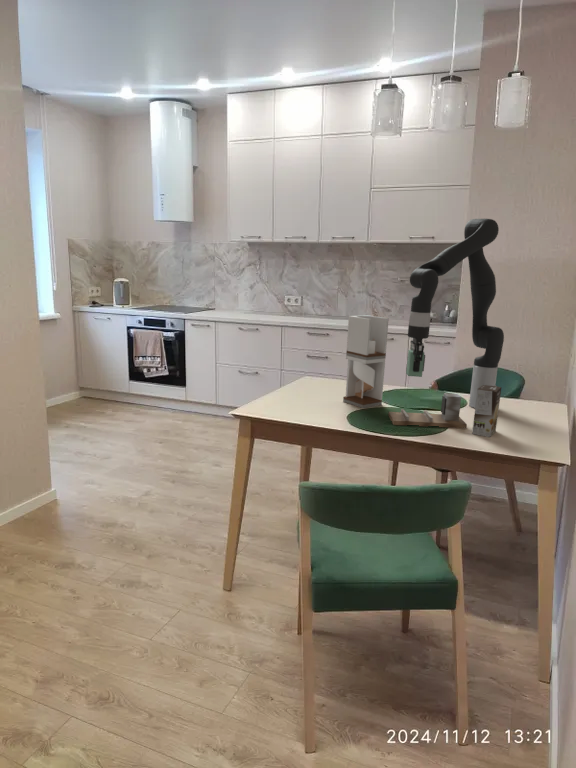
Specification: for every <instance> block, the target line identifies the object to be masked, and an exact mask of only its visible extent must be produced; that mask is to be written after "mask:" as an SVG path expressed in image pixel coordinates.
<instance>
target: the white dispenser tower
mask: <svg viewBox="0 0 576 768" xmlns="http://www.w3.org/2000/svg"><path fill="white" fill-rule="evenodd" d="M389 321H390V319H389V318H387V317H381V316H376V315H348V325H347V337H346V338H347V339H346V341H347V342H346V355H345V359H346V360H347V369H346V371H347V372H346V384H345V385H346V387H345V396H343V398H342V399H343V401H342V402H344V403H345V404H350V405H352V406H356V407H359V408H360V409H361V408H362V409H365V408H371V407H377V406H382V405H383V403H382V402H383V393H384V392H383V391H384V379H385V370H386V369H385V368H386V357H387V354H386V353H387V344H388V331H389Z"/></svg>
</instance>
